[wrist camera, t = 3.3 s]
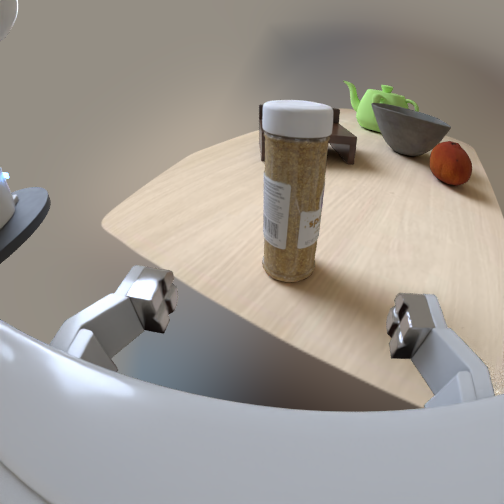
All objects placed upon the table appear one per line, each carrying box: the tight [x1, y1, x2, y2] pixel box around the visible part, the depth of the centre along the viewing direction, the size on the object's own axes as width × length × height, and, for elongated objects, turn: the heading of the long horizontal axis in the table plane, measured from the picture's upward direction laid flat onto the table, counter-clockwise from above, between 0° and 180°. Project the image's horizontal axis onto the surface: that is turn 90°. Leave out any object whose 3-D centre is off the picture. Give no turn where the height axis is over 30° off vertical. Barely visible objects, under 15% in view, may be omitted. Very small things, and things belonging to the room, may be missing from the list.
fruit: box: [430, 141, 472, 185], centre depth 40 cm, size 9×9×8 cm
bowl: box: [371, 103, 451, 156], centre depth 51 cm, size 19×19×10 cm
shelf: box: [259, 105, 357, 164], centre depth 47 cm, size 16×12×8 cm
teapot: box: [344, 81, 419, 132], centre depth 68 cm, size 19×20×14 cm
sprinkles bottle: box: [262, 100, 333, 282], centre depth 20 cm, size 5×5×14 cm
